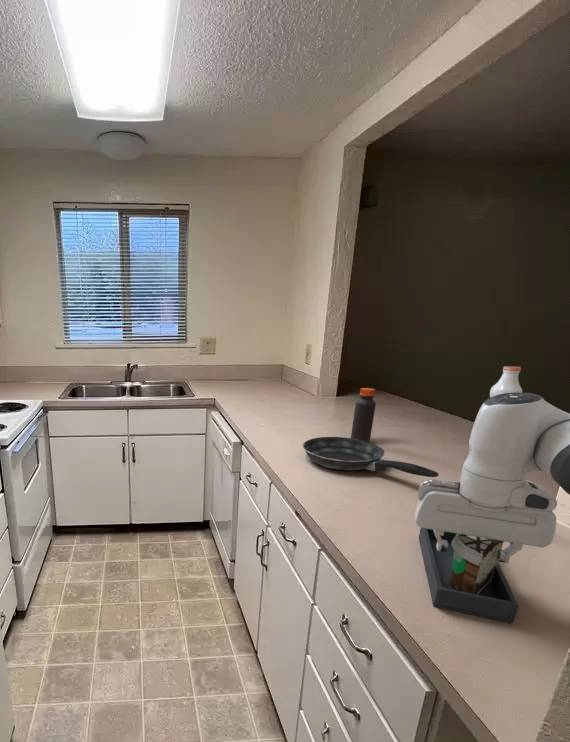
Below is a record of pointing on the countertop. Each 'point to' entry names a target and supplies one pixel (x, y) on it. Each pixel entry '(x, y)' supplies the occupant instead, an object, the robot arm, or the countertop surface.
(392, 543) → the countertop surface
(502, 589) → the dark blue tray
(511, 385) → the fruit juice
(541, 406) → the robot arm
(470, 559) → the food container
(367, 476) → the countertop surface
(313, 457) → the frying pan
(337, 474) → the countertop surface
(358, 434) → the bottle
